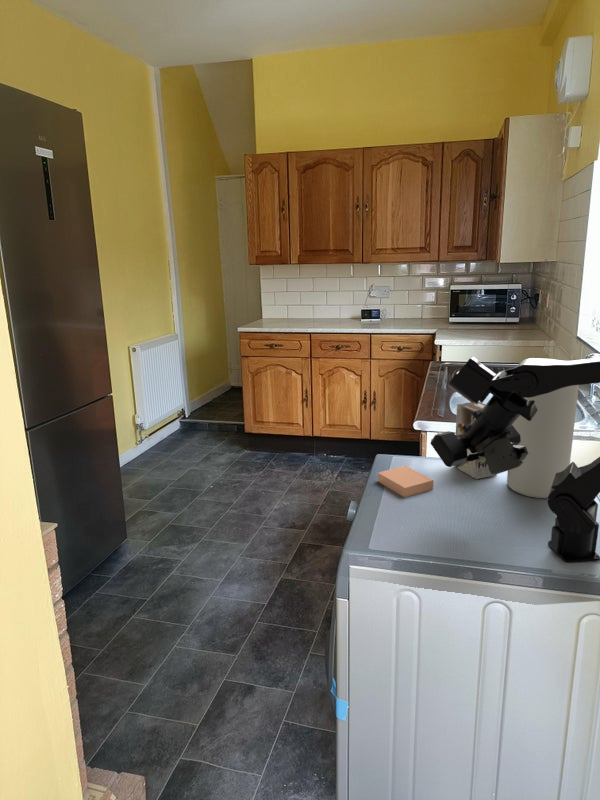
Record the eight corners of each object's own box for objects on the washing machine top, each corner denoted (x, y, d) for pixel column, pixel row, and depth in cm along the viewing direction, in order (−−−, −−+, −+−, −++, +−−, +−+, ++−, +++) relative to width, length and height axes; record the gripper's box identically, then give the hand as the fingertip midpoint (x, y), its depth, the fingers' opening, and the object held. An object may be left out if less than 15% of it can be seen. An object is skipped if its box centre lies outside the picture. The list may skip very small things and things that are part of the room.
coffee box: (498, 475, 135) (503, 410, 131) (475, 479, 133) (480, 414, 129) (473, 462, 143) (477, 400, 139) (452, 466, 141) (455, 403, 137)
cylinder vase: (494, 483, 131) (502, 377, 124) (532, 472, 136) (542, 370, 130) (540, 504, 120) (551, 389, 113) (579, 491, 126) (592, 381, 119)
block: (433, 480, 128) (405, 465, 137) (404, 487, 124) (377, 472, 133) (433, 490, 129) (405, 475, 137) (404, 498, 125) (377, 482, 134)
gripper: (486, 464, 95) (444, 511, 106) (559, 441, 104) (513, 487, 115) (449, 413, 101) (412, 463, 112) (520, 396, 110) (480, 443, 121)
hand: (456, 465), depth 115 cm, fingers closed
